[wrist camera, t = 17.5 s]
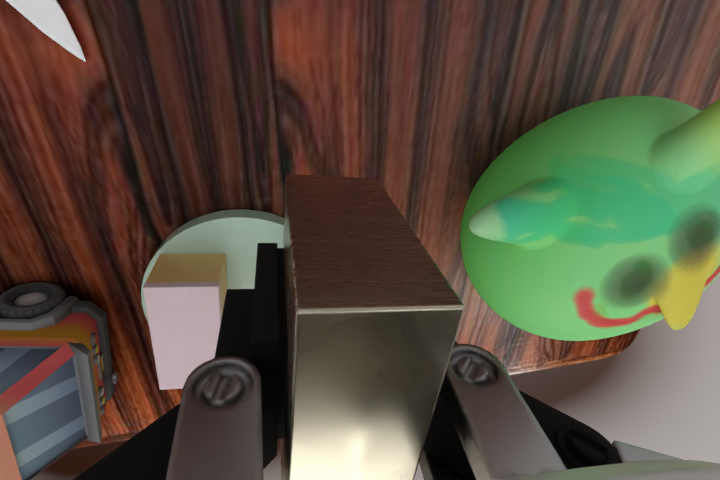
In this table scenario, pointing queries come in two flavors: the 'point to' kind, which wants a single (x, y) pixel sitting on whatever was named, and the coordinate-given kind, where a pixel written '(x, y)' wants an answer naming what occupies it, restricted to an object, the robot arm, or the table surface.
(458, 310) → the cake knife
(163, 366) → the cake piece
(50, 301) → the toy car
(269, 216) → the cake plate
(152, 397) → the table surface
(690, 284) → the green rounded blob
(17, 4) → the knife
